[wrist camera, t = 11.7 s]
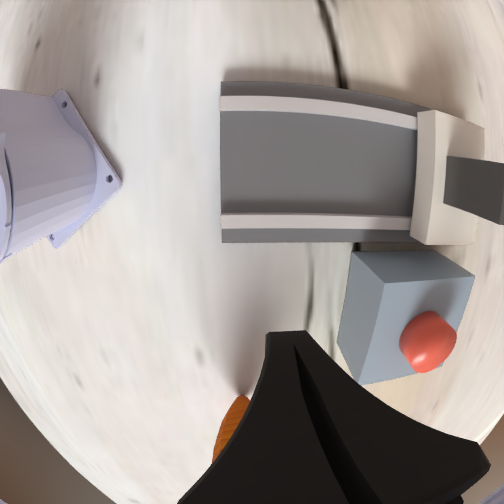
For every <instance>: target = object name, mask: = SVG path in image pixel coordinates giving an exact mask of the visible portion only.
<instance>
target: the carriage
mask: <svg viewBox="0 0 504 504" xmlns="http://www.w3.org/2000/svg"><path fill="white" fill-rule="evenodd" d="M417 120H418V142H417V169H416V184H415V195H414V205H413V214H412V222H411V229H410V236H411V237H413V238H415V239H416V240H418V241H420V242H422V243H423V244H425V245H474V241H475V236H476V230H477V224H478V218H479V217H482V218H484V219H487V220H489V221H492V222H494V223H497V224H499V225H504V164H503V163H497V162H491V161H485V160H484V128H483V127H480V126H478V125H476V124H473V123H471V122H468V121H466V120H463V119H460V118H458V117H455V116H452V115H449V114H446V113H443V112H440V111H437V110H430V111H423V112H417Z"/></svg>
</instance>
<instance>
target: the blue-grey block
mask: <svg viewBox="0 0 504 504" xmlns="http://www.w3.org/2000/svg"><path fill="white" fill-rule="evenodd" d="M474 279H475V276H474V275H473V274H471V273H470V272H468V271H467V270H465V269H464V268H462V267H461V266H459V265H458V264H456V263H454V262H453V261H451V260H450V259H448V258H446V257H445V256H443V255H442V254H440V253H438V252H437V251H352V253H351V261H350V268H349V275H348V282H347V289H346V295H345V301H344V307H343V312H342V318H341V323H340V328H339V334H338V339H337V344H338V346H339V348H340V350H341V352H342V354H343V357H344V359H345V361H346V363H347V365H348V367H349V369H350V372H351V374H352V376H353V378H354V380H355V381H356V382H357V383H358V384H359V385H365V384H370V383H376V382H381V381H386V380H390V379H395V378H399V377H404V376H408V375H412V374H416V373H418V372H416V371H414V369H413V368H412V366H411V365H410V364H409V362H408V361H407V359H406V358H405V356H404V355H403V354H402V352H401V351H400V349H399V340H400V336H401V334H402V332H403V330H404V329H405V327H406V326H407V325H408V324H409V322H410V321H411V320H413V319H414V318H415V317H416V316H418V315H419V314H421V313H424V312H427V311H435V312H437V313H438V314H439V315H440V316H441V317H442V318H443V319H444V320H445V321H446V322H447V323H448V324H449V325H450V326H451V327H452V328H453V329H454V330H455V331H456V333H457V330H458V327H459V325H460V322H461V319H462V317H463V314H464V311H465V308H466V305H467V302H468V299H469V296H470V292H471V289H472V286H473V282H474ZM443 363H444V362H442V363H441V364H440V365H439V366H438V367H441V366H442V365H443ZM438 367H436V368H438Z"/></svg>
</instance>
